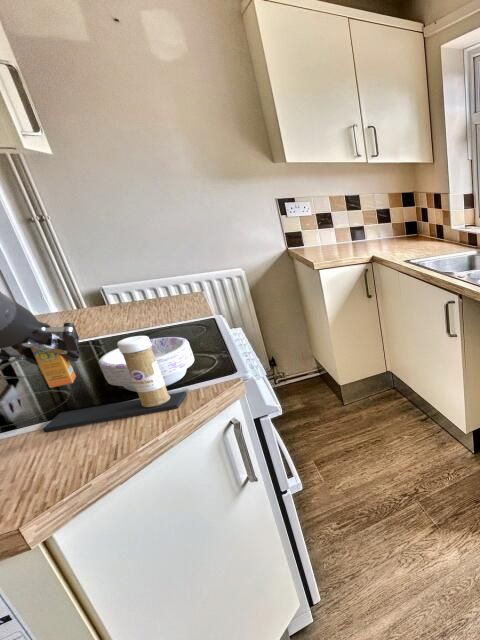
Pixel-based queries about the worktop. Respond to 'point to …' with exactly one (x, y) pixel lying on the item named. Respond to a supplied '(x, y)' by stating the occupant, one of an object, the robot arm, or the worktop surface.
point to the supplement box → (54, 368)
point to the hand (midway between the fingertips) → (59, 358)
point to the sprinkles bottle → (144, 370)
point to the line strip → (109, 412)
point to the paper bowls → (169, 357)
